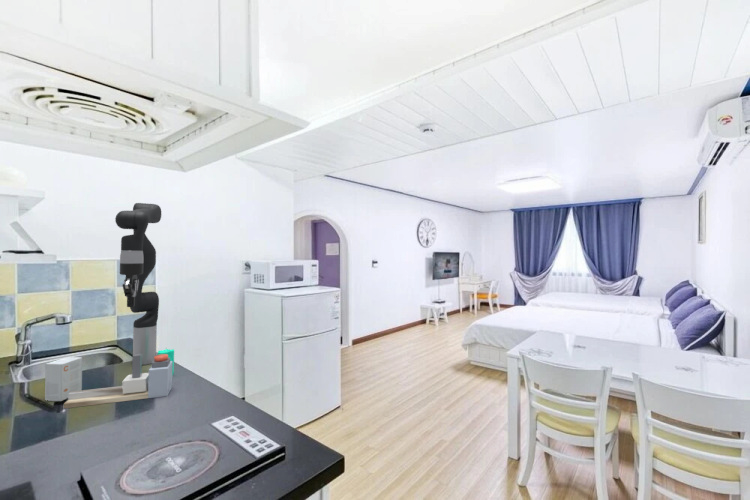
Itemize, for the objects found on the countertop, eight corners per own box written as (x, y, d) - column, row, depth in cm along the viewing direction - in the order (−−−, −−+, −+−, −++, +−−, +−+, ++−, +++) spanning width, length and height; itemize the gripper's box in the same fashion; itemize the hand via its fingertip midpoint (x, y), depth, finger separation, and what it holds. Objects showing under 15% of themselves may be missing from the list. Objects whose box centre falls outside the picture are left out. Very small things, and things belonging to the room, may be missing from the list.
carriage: (128, 387, 127) (128, 353, 127) (150, 384, 130) (150, 351, 130) (122, 394, 120) (122, 358, 121) (145, 391, 123) (146, 356, 123)
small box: (66, 391, 127) (67, 356, 128) (82, 392, 127) (83, 357, 127) (43, 400, 119) (44, 363, 119) (61, 401, 119) (61, 364, 119)
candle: (176, 374, 146) (177, 346, 146) (161, 378, 141) (162, 349, 141) (169, 372, 149) (169, 344, 150) (154, 376, 144) (154, 347, 145)
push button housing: (154, 388, 131) (154, 357, 131) (171, 386, 133) (172, 355, 133) (148, 398, 123) (148, 364, 123) (167, 395, 125) (168, 362, 125)
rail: (75, 397, 122) (75, 388, 122) (154, 388, 131) (154, 379, 131) (63, 408, 114) (63, 397, 114) (148, 398, 123) (148, 388, 123)
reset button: (155, 363, 129) (155, 354, 129) (169, 362, 131) (169, 353, 131) (152, 367, 125) (153, 358, 125) (166, 366, 127) (166, 356, 127)
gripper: (138, 262, 129) (137, 308, 129) (147, 261, 141) (146, 304, 141) (114, 262, 126) (113, 309, 126) (125, 261, 138) (124, 304, 138)
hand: (130, 306), depth 133 cm, fingers closed
